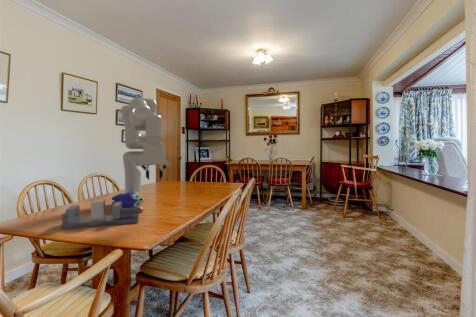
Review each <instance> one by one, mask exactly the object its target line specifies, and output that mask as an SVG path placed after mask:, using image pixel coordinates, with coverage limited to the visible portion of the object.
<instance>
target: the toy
mask: <svg viewBox="0 0 476 317" xmlns="http://www.w3.org/2000/svg"><path fill="white" fill-rule="evenodd" d="M142 198H143V197H142V195H141V196H140V194H139V193H138V192H135V191H134V192H127V193H125V192H123V193H118V194H117V195H114V196H112V197H111V200H112V203H111V204H112V206H113V205H114V203H115V202H122V209H123V208H137V207H140V206H141V204H142V202H141V200H143V199H142Z"/></svg>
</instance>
